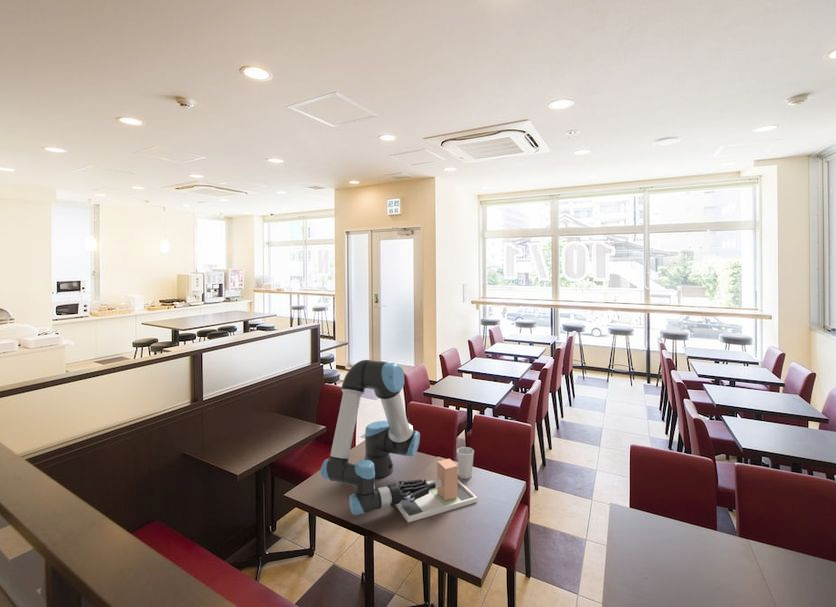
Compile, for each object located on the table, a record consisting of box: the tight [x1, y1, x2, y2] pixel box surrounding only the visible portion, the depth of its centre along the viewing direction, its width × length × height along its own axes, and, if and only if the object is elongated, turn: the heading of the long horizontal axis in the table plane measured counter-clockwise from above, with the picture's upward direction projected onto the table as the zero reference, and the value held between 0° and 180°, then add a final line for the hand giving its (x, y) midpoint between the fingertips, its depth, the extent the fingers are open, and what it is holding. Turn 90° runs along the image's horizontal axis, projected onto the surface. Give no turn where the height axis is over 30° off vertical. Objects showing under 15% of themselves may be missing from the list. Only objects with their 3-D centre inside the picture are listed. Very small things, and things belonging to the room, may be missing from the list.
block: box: [436, 458, 459, 501], centre depth 172 cm, size 7×6×14 cm
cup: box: [456, 446, 475, 479], centre depth 192 cm, size 8×8×12 cm
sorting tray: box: [395, 479, 478, 523], centre depth 171 cm, size 16×32×2 cm, turn 116°
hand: (440, 482), depth 171 cm, fingers closed
